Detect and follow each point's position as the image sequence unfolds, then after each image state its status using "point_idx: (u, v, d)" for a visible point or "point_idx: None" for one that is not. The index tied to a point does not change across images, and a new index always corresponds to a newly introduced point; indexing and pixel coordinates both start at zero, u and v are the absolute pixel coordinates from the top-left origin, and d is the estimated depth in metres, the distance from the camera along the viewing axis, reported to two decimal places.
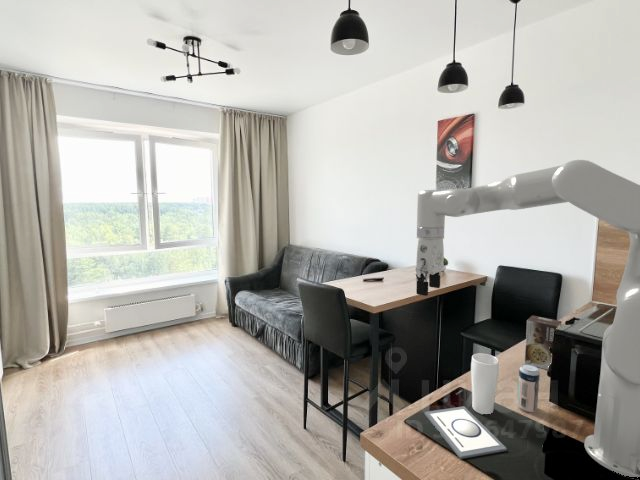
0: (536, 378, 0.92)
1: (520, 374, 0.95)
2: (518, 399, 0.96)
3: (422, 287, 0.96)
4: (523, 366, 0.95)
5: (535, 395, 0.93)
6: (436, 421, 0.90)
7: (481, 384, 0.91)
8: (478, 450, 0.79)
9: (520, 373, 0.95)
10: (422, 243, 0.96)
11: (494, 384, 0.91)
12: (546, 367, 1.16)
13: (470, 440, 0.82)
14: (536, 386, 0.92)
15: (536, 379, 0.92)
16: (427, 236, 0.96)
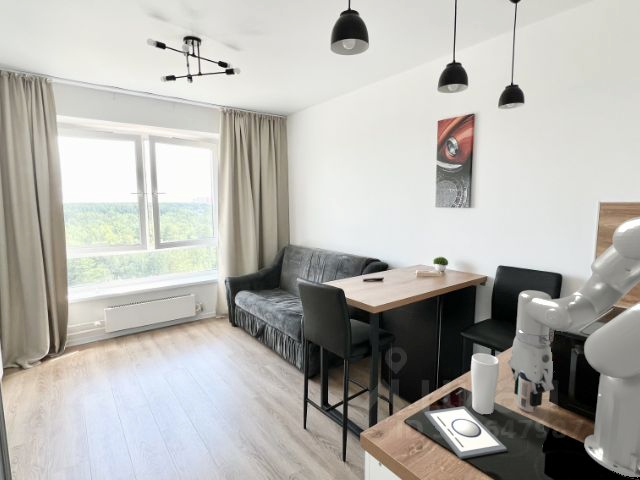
0: None
1: (520, 374, 0.95)
2: (518, 399, 0.96)
3: (540, 398, 0.91)
4: None
5: None
6: (436, 421, 0.90)
7: (481, 384, 0.91)
8: (478, 450, 0.79)
9: (520, 373, 0.95)
10: (543, 353, 0.89)
11: (494, 384, 0.91)
12: None
13: (470, 440, 0.82)
14: None
15: None
16: None
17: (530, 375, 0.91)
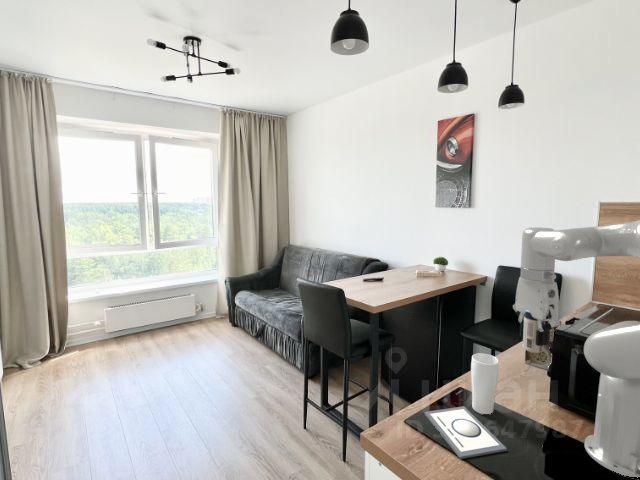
0: None
1: (525, 314, 0.92)
2: (523, 341, 0.93)
3: (546, 337, 0.89)
4: None
5: None
6: (436, 421, 0.90)
7: (481, 384, 0.91)
8: (478, 450, 0.79)
9: (525, 313, 0.92)
10: (549, 288, 0.86)
11: (494, 384, 0.91)
12: (546, 367, 1.16)
13: (470, 440, 0.82)
14: None
15: None
16: (550, 279, 0.87)
17: (535, 313, 0.89)
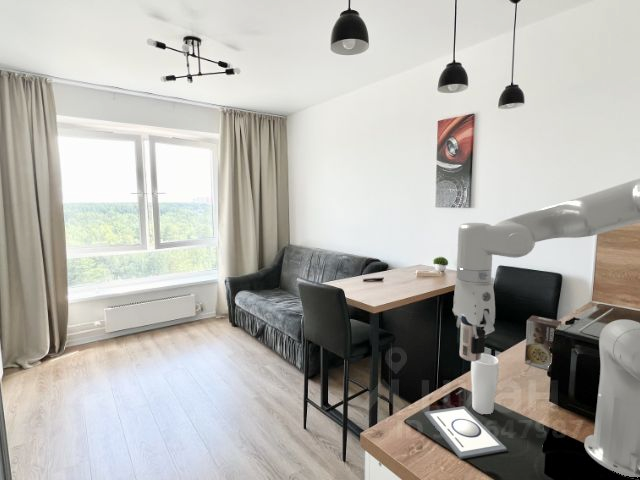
0: None
1: (461, 319, 0.83)
2: (460, 348, 0.84)
3: (482, 344, 0.80)
4: None
5: None
6: (436, 421, 0.90)
7: (481, 384, 0.91)
8: (478, 450, 0.79)
9: (461, 317, 0.83)
10: (484, 290, 0.77)
11: (494, 384, 0.91)
12: (546, 367, 1.16)
13: (470, 440, 0.82)
14: (478, 331, 0.81)
15: None
16: (486, 280, 0.78)
17: (470, 318, 0.80)
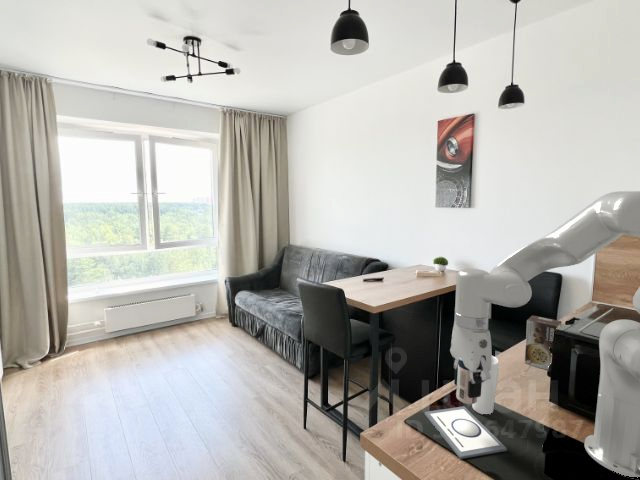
0: None
1: (459, 362, 0.85)
2: (457, 390, 0.86)
3: (478, 389, 0.82)
4: None
5: None
6: (436, 421, 0.90)
7: None
8: (478, 450, 0.79)
9: (459, 361, 0.85)
10: (481, 337, 0.79)
11: (494, 384, 0.91)
12: (546, 367, 1.16)
13: (470, 440, 0.82)
14: (475, 375, 0.83)
15: None
16: (483, 327, 0.80)
17: (467, 363, 0.81)
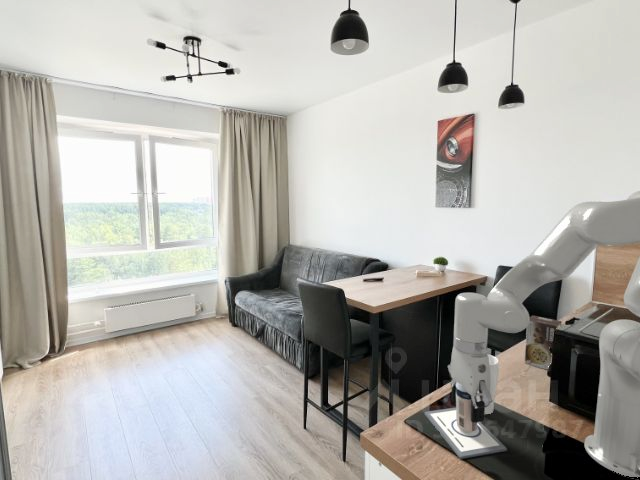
0: None
1: (456, 391, 0.86)
2: (457, 418, 0.87)
3: (481, 414, 0.81)
4: None
5: None
6: (436, 421, 0.90)
7: None
8: (478, 450, 0.79)
9: (456, 389, 0.86)
10: (480, 362, 0.80)
11: (494, 384, 0.91)
12: (546, 367, 1.16)
13: (470, 440, 0.82)
14: None
15: None
16: (482, 352, 0.80)
17: (466, 387, 0.82)
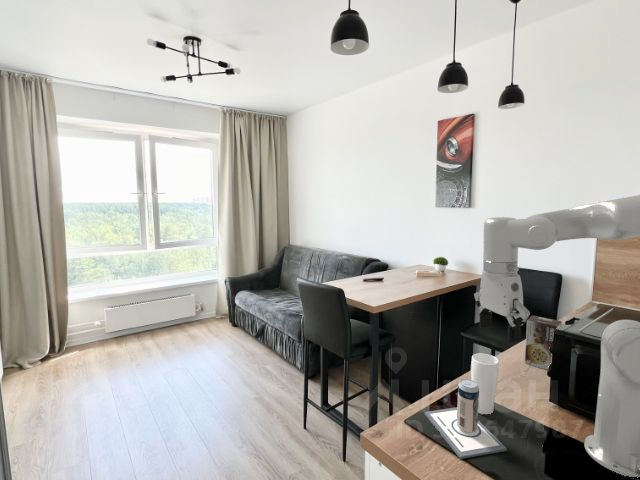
0: (474, 395, 0.83)
1: (458, 390, 0.86)
2: (457, 418, 0.87)
3: (518, 332, 0.81)
4: (462, 381, 0.86)
5: (474, 414, 0.84)
6: (436, 421, 0.90)
7: (481, 384, 0.91)
8: (478, 450, 0.79)
9: (458, 389, 0.86)
10: (512, 281, 0.81)
11: (494, 384, 0.91)
12: (546, 367, 1.16)
13: (470, 440, 0.82)
14: (475, 404, 0.84)
15: (474, 396, 0.83)
16: (513, 272, 0.82)
17: (499, 309, 0.83)
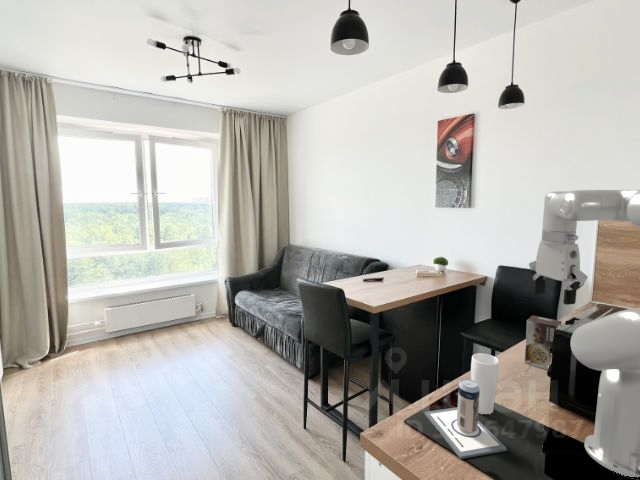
0: (475, 395, 0.83)
1: (459, 390, 0.86)
2: (457, 418, 0.87)
3: (574, 296, 0.89)
4: (463, 381, 0.86)
5: (474, 414, 0.84)
6: (436, 421, 0.90)
7: (481, 384, 0.91)
8: (478, 450, 0.79)
9: (459, 389, 0.86)
10: (571, 249, 0.89)
11: (494, 384, 0.91)
12: (546, 367, 1.16)
13: (470, 440, 0.82)
14: (475, 404, 0.84)
15: (475, 396, 0.83)
16: (572, 241, 0.89)
17: (556, 274, 0.91)
